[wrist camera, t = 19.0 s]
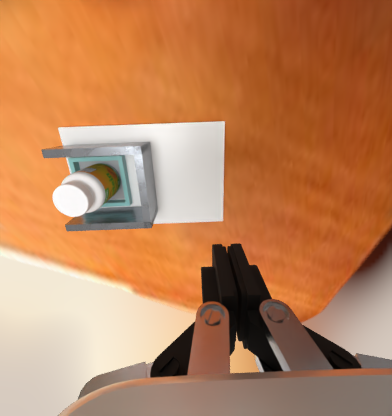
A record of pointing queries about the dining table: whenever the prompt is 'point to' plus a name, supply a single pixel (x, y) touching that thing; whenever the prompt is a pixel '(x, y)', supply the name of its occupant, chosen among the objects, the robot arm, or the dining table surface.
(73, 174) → the supplement bottle
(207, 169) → the base plate
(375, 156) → the dining table surface
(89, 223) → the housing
